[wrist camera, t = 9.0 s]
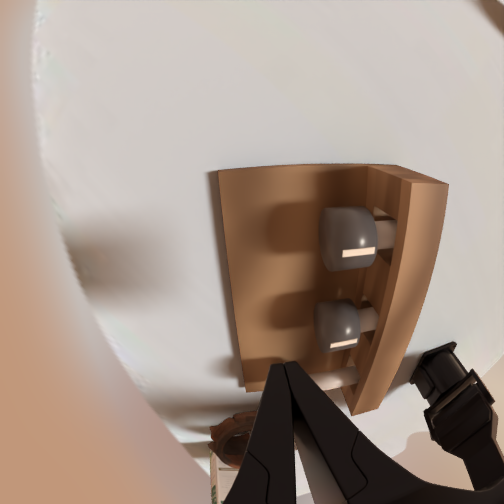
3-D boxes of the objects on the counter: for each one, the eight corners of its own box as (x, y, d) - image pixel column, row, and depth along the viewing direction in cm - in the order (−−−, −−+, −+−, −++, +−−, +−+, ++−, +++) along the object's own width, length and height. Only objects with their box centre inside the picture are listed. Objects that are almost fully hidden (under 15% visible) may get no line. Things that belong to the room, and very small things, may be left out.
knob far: (353, 346, 23) (368, 377, 20) (347, 371, 25) (359, 400, 21) (270, 360, 23) (276, 395, 19) (271, 384, 24) (276, 416, 21)
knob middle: (402, 279, 20) (426, 305, 17) (393, 314, 22) (413, 342, 18) (315, 292, 20) (331, 326, 16) (312, 329, 21) (324, 364, 18)
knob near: (416, 197, 17) (449, 215, 14) (409, 244, 19) (438, 267, 15) (319, 200, 17) (341, 220, 13) (317, 254, 18) (336, 284, 15)
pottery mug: (190, 422, 31) (192, 456, 23) (235, 376, 33) (248, 404, 25) (254, 458, 32) (268, 491, 24) (296, 418, 34) (320, 446, 26)
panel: (396, 165, 17) (448, 184, 12) (359, 367, 27) (377, 408, 22) (218, 170, 17) (213, 191, 12) (245, 386, 27) (249, 433, 21)
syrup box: (213, 440, 33) (216, 524, 20) (252, 441, 34) (261, 523, 21) (209, 452, 35) (211, 526, 22) (244, 453, 36) (251, 526, 23)
